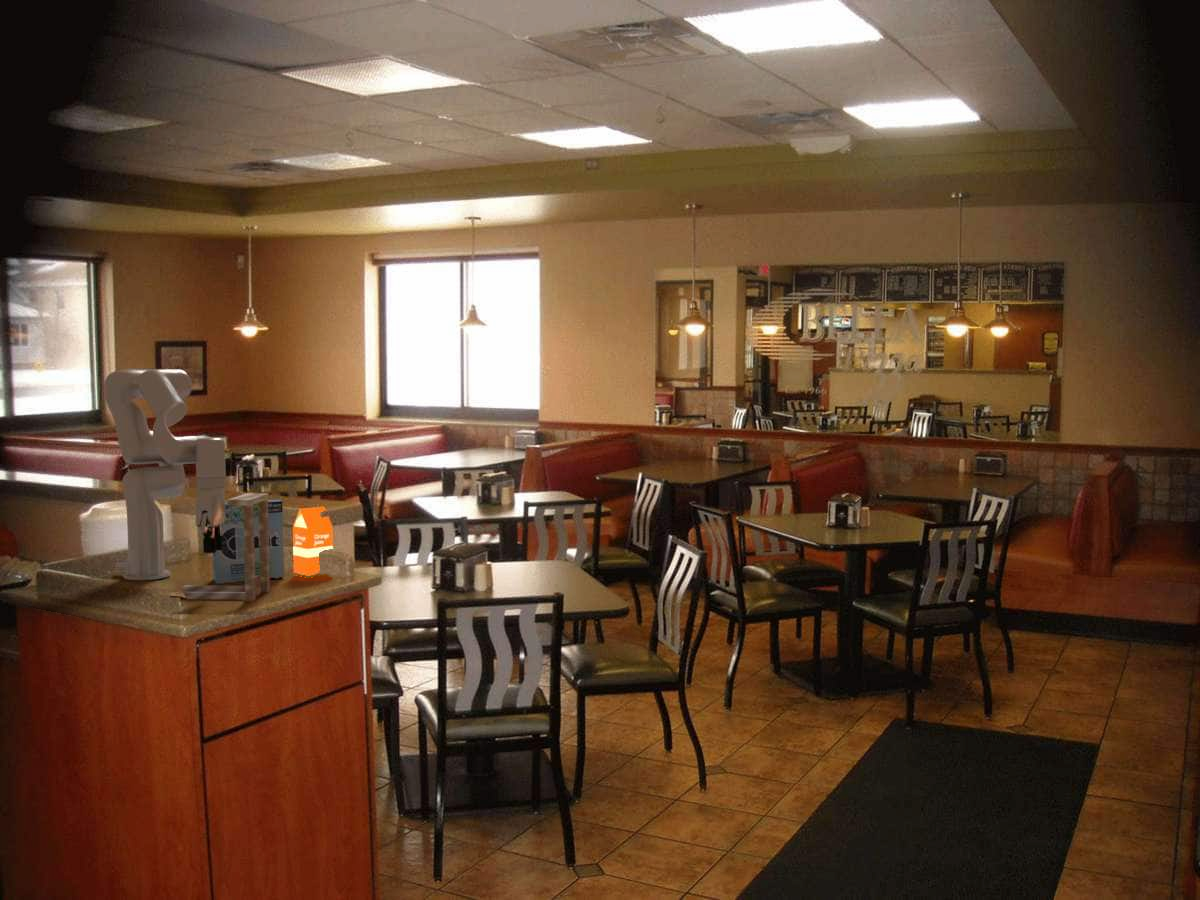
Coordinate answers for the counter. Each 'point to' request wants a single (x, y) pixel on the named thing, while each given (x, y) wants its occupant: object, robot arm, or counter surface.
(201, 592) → the metal strip frame
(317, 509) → the orange juice
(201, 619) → the counter surface
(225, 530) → the gum box
